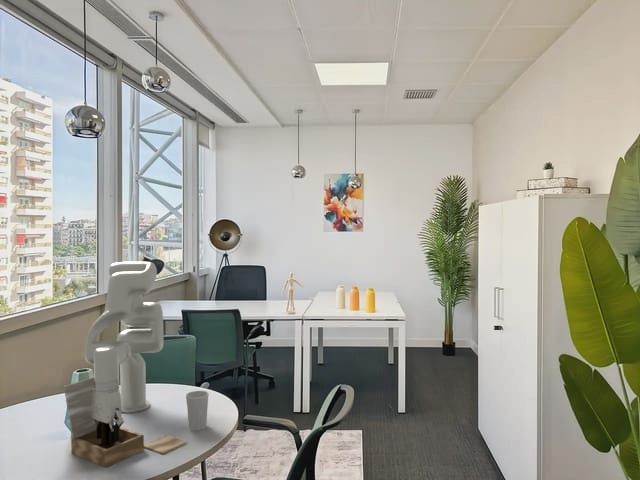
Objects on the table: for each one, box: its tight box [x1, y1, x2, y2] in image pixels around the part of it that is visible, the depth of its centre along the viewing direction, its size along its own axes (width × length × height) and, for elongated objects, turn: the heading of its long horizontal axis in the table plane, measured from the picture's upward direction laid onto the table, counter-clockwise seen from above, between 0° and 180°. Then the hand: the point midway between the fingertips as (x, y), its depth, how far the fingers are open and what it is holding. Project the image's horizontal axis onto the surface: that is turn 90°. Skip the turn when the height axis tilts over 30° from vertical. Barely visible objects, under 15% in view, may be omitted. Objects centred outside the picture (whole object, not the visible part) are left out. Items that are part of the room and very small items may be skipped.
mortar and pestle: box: [97, 422, 119, 449], centre depth 167 cm, size 7×6×18 cm
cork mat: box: [144, 434, 187, 455], centre depth 172 cm, size 10×10×1 cm
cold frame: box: [63, 377, 145, 468], centre depth 168 cm, size 22×14×22 cm, turn 58°
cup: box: [185, 390, 209, 431], centre depth 187 cm, size 8×8×12 cm
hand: (107, 439), depth 167 cm, fingers open, 5 cm apart
